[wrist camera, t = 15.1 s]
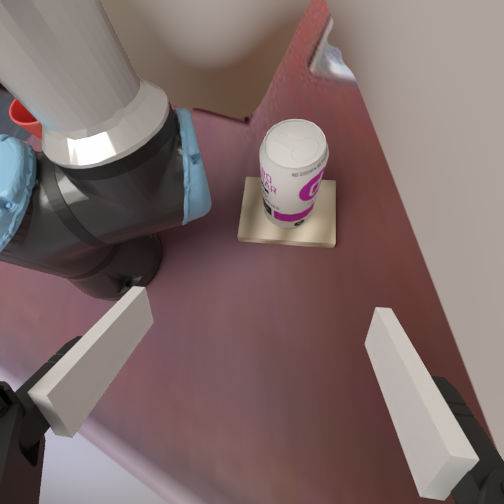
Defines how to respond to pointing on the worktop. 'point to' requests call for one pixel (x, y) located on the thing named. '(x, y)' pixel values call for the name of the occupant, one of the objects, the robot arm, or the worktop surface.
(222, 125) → the worktop surface
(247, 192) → the birch board
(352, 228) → the worktop surface
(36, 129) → the flower pot
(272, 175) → the supplement can
